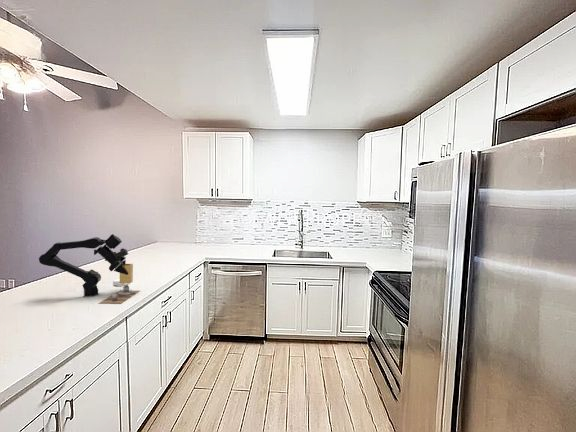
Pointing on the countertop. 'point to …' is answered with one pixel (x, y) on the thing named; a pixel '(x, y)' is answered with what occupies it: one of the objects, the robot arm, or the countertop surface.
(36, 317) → the countertop surface
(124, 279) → the gold square tube
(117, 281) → the bracket
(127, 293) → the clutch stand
